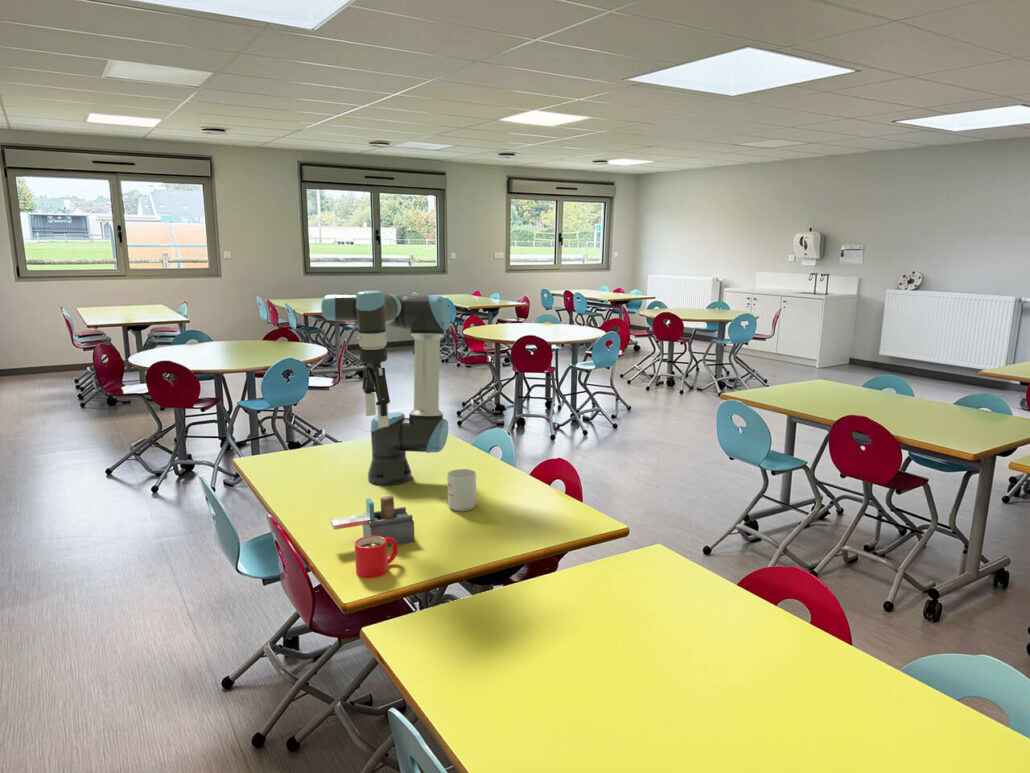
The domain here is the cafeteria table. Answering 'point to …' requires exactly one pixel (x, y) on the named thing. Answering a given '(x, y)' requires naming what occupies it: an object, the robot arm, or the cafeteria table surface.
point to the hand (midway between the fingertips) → (377, 420)
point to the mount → (392, 526)
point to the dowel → (387, 507)
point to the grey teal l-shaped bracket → (355, 518)
